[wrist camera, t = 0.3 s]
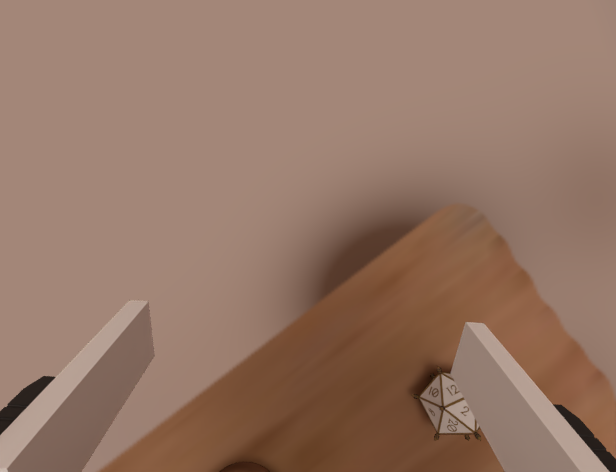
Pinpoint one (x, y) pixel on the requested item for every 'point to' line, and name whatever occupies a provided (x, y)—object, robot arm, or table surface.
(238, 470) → the walnut lid
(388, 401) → the table surface
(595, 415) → the table surface
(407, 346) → the table surface
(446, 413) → the game die
